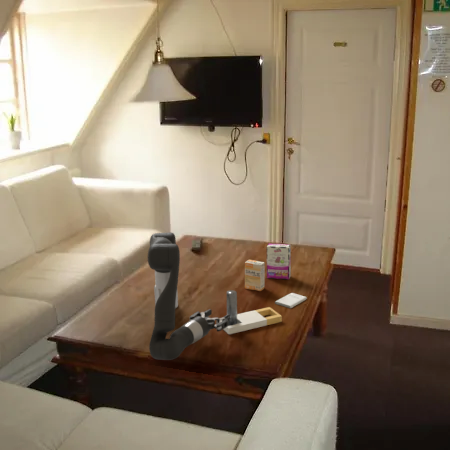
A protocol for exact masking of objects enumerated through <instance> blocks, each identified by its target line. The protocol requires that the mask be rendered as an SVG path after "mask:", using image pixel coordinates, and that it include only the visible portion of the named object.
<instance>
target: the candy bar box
mask: <svg viewBox="0 0 450 450" xmlns="http://www.w3.org/2000/svg"><path fill="white" fill-rule="evenodd" d="M291 249H292V248H291V244H286V243H283V244H282V243H267V246H266V278H267V279H276V280H290V278H291V274H292V273H291V269H292V268H291V264H292V263H291V262H292V261H291V257H292V256H291V252H292V251H291Z"/></svg>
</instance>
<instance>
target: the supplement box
mask: <svg viewBox="0 0 450 450" xmlns="http://www.w3.org/2000/svg"><path fill="white" fill-rule="evenodd" d="M265 270H266V269H265V262H264V261H260V260H254V259H248V260H246V261H245V262H244V289H245V290H246V289H247V290H252V291H258V292H262V291H263V290H264V289H265V279H266V278H265V277H266V276H265V273H266V271H265Z"/></svg>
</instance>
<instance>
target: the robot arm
mask: <svg viewBox="0 0 450 450" xmlns="http://www.w3.org/2000/svg"><path fill="white" fill-rule="evenodd" d="M176 242H177V241H176V236H175V233H174V232H157V233H153V234H151V235H150V238H149V248H148V251H147V264H148V266H149V268H150V269H151V270H154V280H155V285H154V286H153V290H154V291H153V293H154V305H155V306H154V325H153V329H152V334H151V337H150V341H149V346H148V347H149V348H148V349H149V354H150V356H151V357H152V358H153V359H154V360H160V361H161V360H164V361H171V360H175V359H177V358H179V356H181V354H182V353H183V351H185V348H187V347H188V346H190V345H192V344H195V343H196V342H198V341H200V340H201V339H202V338H204V337H205V336H207V335H208V334H209V333H210V332H211V330H213V329H215V330H216V332H219V333H220V332H221V331H222V330H223V329H224V328H226V327H228V321H229V320H230V315H229V314H227V313H226V315H224V316H223V317H209V316H211V315H212V311H213V310H212V309H211V308H209V309H207V310H205V311H201V312H200V311H199V310H198V311H196V312H194V313H193V314H192V315H190V316H189V320H188V321H187V322H185V323H184V324H183V325H181V326H180V327H179V328H176V329H175V327H176V309H177V308H178V306H179V297H178V295H179V294H178V293H179V292H178V283H179V274H180V272H179V271H180V262H181V257H180V256H181V253H180V247H179V245H178V244H176ZM221 320H222V322H220V323H219V321H221ZM215 321H216V322H215ZM174 329H175V330H174ZM223 331H224V330H223ZM169 332H172V333H171V334H170V336H169V338H167V336H168V335H167V334H168V333H169Z"/></svg>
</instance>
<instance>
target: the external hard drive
mask: <svg viewBox="0 0 450 450" xmlns="http://www.w3.org/2000/svg"><path fill="white" fill-rule="evenodd" d="M307 299H308V298H307V296H305V295H304V296H303V295H301V294H297V293H295V292H291V293H288V294H286V295H284V296H283V297H281V298H279V299H277V300H276V301H274V305H275V304H276V305H277V306H278V305H279V306H281V307H285V308H288V309H292V308H294V307H295V306H297V305H299V304H301V303H303V302H304V301H306V300H307Z"/></svg>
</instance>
